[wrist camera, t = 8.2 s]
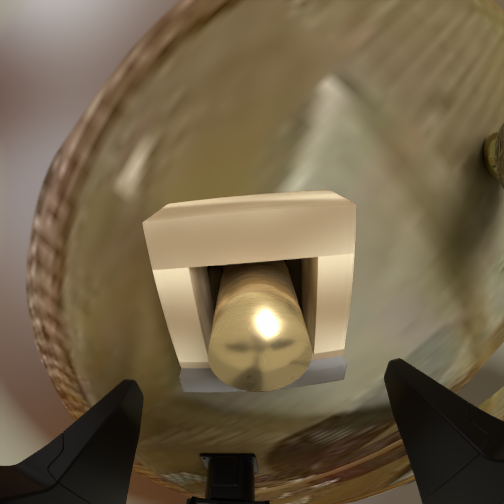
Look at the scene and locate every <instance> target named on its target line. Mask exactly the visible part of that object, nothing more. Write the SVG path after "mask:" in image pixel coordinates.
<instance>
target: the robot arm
mask: <svg viewBox="0 0 504 504" xmlns="http://www.w3.org/2000/svg"><path fill="white" fill-rule="evenodd" d="M384 382H385V385H386V389H387V393H388V397H389V400H390V404H391V408H392V412H393V415H394V418H395V421H396V424H397V426H398V429H399V432H400V435H401V437H402V440H403V443H404V446H405V449H406V452H407V455H408V458H409V461H410V464H411V467H412V470H413V473H414V476H415V479H416V483H417V486H418V489H419V493H420V496H421V499H422V504H504V421H502V420H500V419H498V418H496V417H494V416H492V415H490V414H488V413H486V412H484V411H482V410H481V409H479V408H477V407H476V406H474V405H473V404H471V403H468V401H466V400H464V399H463V398H461V397H460V396H458V395H457V394H455V393H454V392H452V391H450V390H449V389H447V388H446V387H444V386H443V385H441V384H440V383H438V382H436V381H435V380H433V379H432V378H430V377H429V376H427V375H426V374H424V373H422V372H421V371H419V370H418V369H416V368H415V367H413V366H412V365H410V364H409V363H407V362H405V361H404V360H402V359H400V358H398V359H394V360H390V361H389V363H388V366H387V369H386V372H385V375H384ZM143 400H144V398H143V394H142V392H141V390H140V388H139V386H138V384H137V382H136V381H135V380H130V379H125V380H123V381H122V382H121V383H119V384H118V385H117V386H116V387H115V388H114V389H113V390H111V391H110V392H109V393H108V394H107V395H106V396H104V397H103V398H102V399H101V400H100V401H99V402H97V403H96V404H95V405H94V406H93V407H92V408H90V409H89V410H88V411H87V412H86V413H85V414H83V415H82V416H81V417H80V418H79V419H78V420H76V421H75V422H74V423H73V424H72V425H71V426H69V427H68V428H67V429H66V430H65V431H64V432H63V433H61V434H60V435H59V436H57V437H56V438H55V439H54V440H52V441H51V442H50V443H49V444H47V445H46V446H44V447H43V448H42V449H40V450H39V451H37V452H36V453H34V454H33V455H31V456H29V457H28V458H26V459H25V460H23V461H22V462H20V463H18V464H16V465H12V466H0V504H126V500H127V494H128V488H129V483H130V477H131V472H132V467H133V462H134V457H135V452H136V448H137V443H138V439H139V434H140V426H141V416H142V408H143ZM200 459H201V460H202V462H203V464H204V465H205V467H206V468H207V479H206V490H205V499H204V498H197V497H193V496H192V498H191V499H187V504H270V503H269V501H255V488H254V474H258V473H259V470H258V465H257V461H256V456H255V455H254V454H239V455H218V454H201V455H200Z"/></svg>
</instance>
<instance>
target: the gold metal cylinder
mask: <svg viewBox="0 0 504 504" xmlns="http://www.w3.org/2000/svg"><path fill="white" fill-rule="evenodd" d="M311 359H312V346H311V342H310V339H309V336H308V332H307V329H306V326H305V322H304V319H303V316H302V313H301V309H300V306H299V303H298V300H297V297H296V293H295V290H294V287H293V284H292V281H291V278H290V274H289V271H288V268H287V266H286V263H285V262H284V260H276V261H264V262H252V263H240V264H227V265H224V268H223V272H222V277H221V282H220V288H219V293H218V298H217V304H216V309H215V315H214V320H213V326H212V332H211V337H210V343H209V349H208V362H209V365H210V368H211V370H212V371H213V373H214V374H215V375H216V376H217V377H218V378H219V379H220V380H221V381H223V382H224V383H226V384H228V385H229V386H232V387H234V388H237V389H240V390H244V391H251V392H264V391H271V390H276V389H279V388H282V387H285V386H287V385H289V384H291V383H293V382H294V381H296V380H297V379H298V378H299V377H301V376H302V375H303V374H304V373H305V371H306V370H307V368H308V367H309V365H310V362H311Z"/></svg>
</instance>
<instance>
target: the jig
mask: <svg viewBox="0 0 504 504" xmlns="http://www.w3.org/2000/svg"><path fill="white" fill-rule="evenodd" d="M143 228H144V233H145V238H146V243H147V248H148V252H149V257H150V261H151V266H152V270H153V274H154V278H155V282H156V286H157V290H158V294H159V298H160V301H161V305H162V308H163V312H164V315H165V319H166V322H167V326H168V329H169V332H170V335H171V339H172V342H173V345H174V348H175V351H176V354H177V357H178V360H179V363H180V366H181V372H180V376H179V380H180V383H181V385H182V388H183V390H184V392H241V391H244V390H240V389H237V388H234V387H232V386H229V385H228V384H226V383H224V382H223V381H221V380H220V379H219V378H218V377H217V376H216V375H215V374H214V373H213V371H212V370H211V368H210V365H209V362H208V349H209V343H210V337H211V332H212V326H213V320H214V315H215V312H214V306H213V301H212V295H211V289H210V283H209V277H208V271H207V266H215V265H227V264H240V263H252V262H264V261H276V260H287V259H299V258H302V316H303V319H304V322H305V326H306V329H307V332H308V336H309V339H310V342H311V346H312V359H311V362H310V365H309V367H308V368H307V370H306V371H305V373H304V374H303V375H302V376H301V377H299V378H298V379H297V380H296V381H294V382H293V383H291V384H289V385H287V386H285V387H282V388H291V387H299V386H307V385H314V384H321V383H327V382H333V381H339V380H344V377H345V372H346V367H347V364H346V362H345V359H344V357H343V352H344V346H345V340H346V333H347V325H348V318H349V309H350V300H351V291H352V280H353V267H354V252H355V230H356V204H354V203H352V202H351V201H349V200H347V199H345V198H343V197H341V196H339V195H338V194H336V193H334V192H332V191H330V190H322V191H302V192H285V193H271V194H258V195H246V196H235V197H224V198H215V199H205V200H197V201H188V202H180V203H172V204H167V205H166V206H165V207H163V208H162V209H160V210H159V211H158V212H156V213H155V214H154V215H152V216H151V217H150V218H148V219H147V220H146V221H144V222H143ZM282 388H279V389H282Z"/></svg>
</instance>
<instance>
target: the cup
mask: <svg viewBox="0 0 504 504" xmlns="http://www.w3.org/2000/svg"><path fill="white" fill-rule="evenodd" d="M484 161H485V165H486V168H487V170H488V171H489V173H490V174H491V175H492V176H493V177H494V178H495V179H497V180H500V183H501V185H502V187H503V189H504V124H503V125H502V126H501V128H500V130H499V132H498V133H497V132H496V133H493V134H491V135H490V136H488V138H487V139H486V141H485V144H484Z"/></svg>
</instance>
